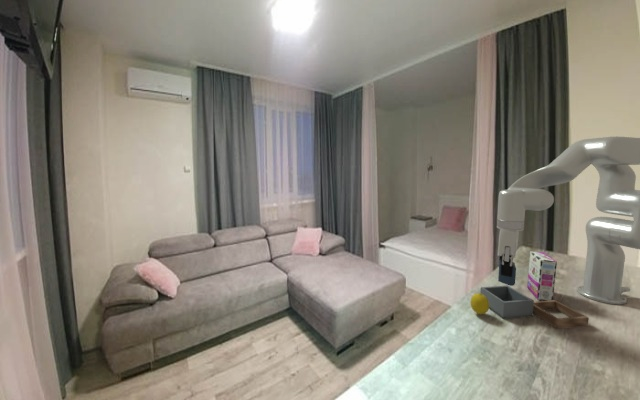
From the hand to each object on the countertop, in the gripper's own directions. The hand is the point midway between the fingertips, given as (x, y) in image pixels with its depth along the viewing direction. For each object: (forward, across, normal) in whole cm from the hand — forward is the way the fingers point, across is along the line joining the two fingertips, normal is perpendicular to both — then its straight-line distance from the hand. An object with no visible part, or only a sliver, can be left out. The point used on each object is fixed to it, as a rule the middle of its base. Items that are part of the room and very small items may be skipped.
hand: (506, 273), depth 88 cm
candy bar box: (+14, -20, +10) cm, 27 cm away
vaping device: (+4, 0, 0) cm, 4 cm away
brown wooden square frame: (+14, -4, +14) cm, 20 cm away
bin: (+14, 0, 0) cm, 14 cm away
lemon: (+14, +9, -7) cm, 18 cm away
